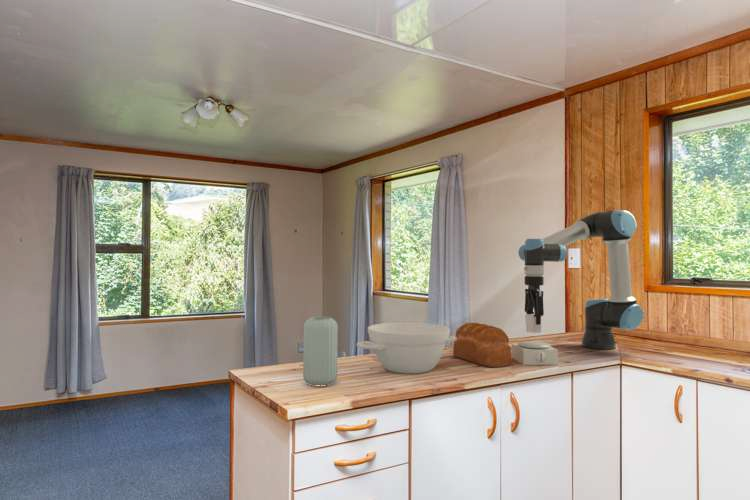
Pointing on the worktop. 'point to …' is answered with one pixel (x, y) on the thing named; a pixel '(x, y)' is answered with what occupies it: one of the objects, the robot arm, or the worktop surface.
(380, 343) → the pot
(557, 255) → the robot arm
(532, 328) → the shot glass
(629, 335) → the worktop surface
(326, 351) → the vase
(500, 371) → the worktop surface
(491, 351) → the bread
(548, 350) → the kitchen scale
